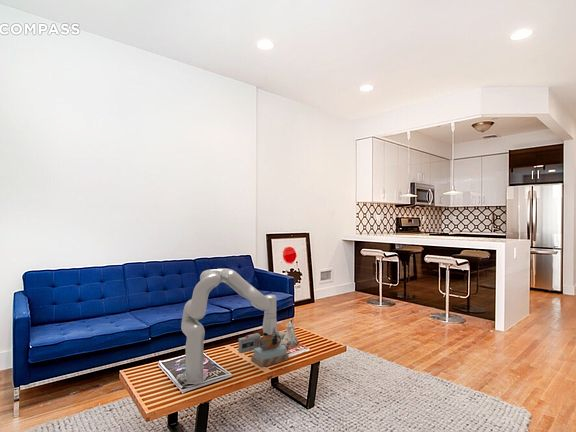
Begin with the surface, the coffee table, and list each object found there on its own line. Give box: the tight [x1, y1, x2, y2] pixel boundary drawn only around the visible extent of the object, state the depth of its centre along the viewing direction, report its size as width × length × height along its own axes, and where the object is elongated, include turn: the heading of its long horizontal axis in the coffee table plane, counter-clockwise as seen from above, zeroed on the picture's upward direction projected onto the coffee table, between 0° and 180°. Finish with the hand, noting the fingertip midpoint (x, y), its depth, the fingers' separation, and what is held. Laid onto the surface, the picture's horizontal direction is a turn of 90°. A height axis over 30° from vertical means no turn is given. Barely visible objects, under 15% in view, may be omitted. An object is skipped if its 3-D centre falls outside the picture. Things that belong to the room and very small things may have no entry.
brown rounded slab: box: [259, 334, 281, 350], centre depth 214 cm, size 15×3×8 cm, turn 125°
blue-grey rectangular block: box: [253, 344, 288, 361], centre depth 214 cm, size 18×10×4 cm, turn 123°
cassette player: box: [237, 332, 261, 354], centre depth 230 cm, size 16×3×10 cm, turn 128°
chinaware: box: [278, 321, 299, 348], centre depth 241 cm, size 28×17×17 cm, turn 10°
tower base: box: [250, 353, 290, 368], centre depth 214 cm, size 20×12×4 cm, turn 126°
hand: (270, 342), depth 214 cm, fingers open, 9 cm apart
